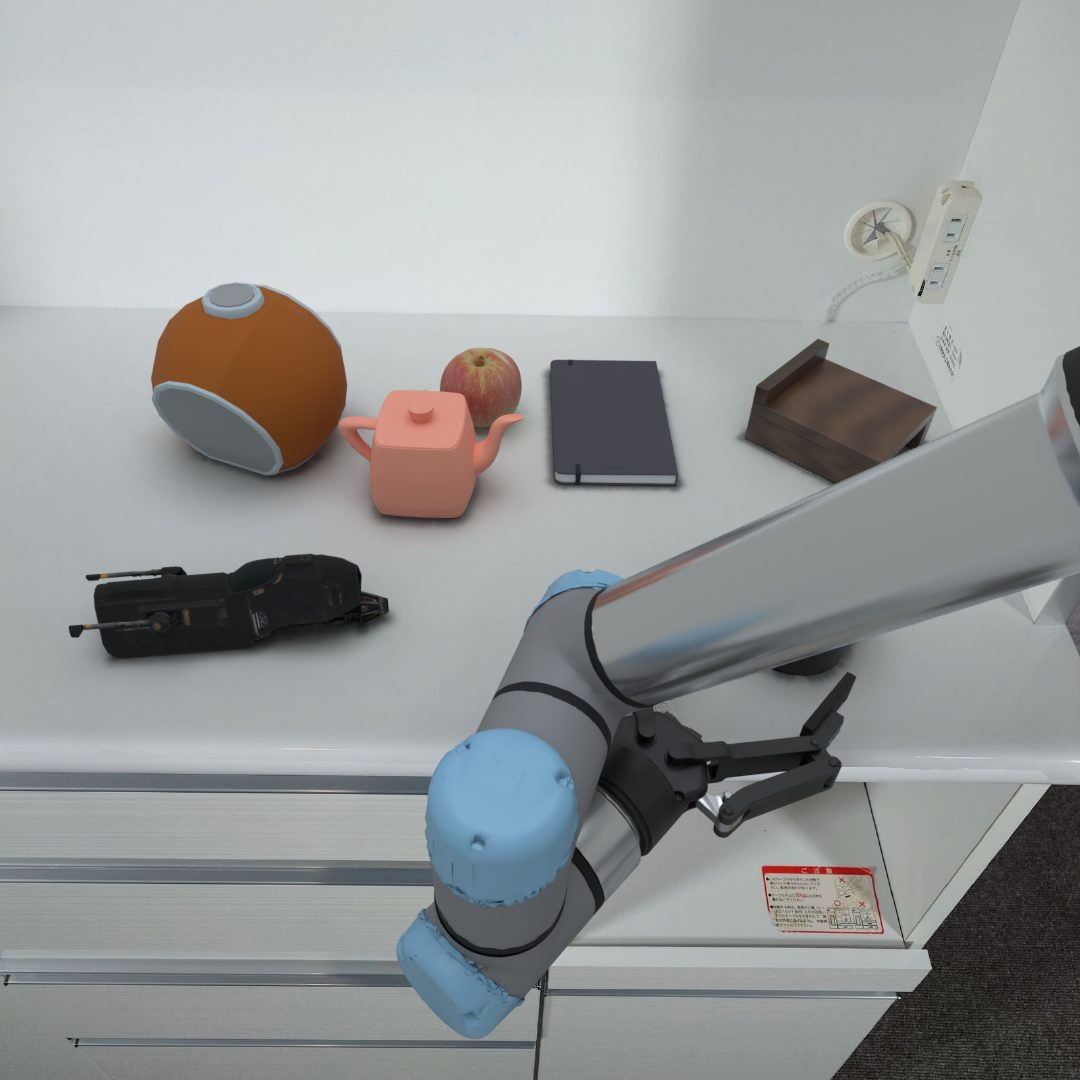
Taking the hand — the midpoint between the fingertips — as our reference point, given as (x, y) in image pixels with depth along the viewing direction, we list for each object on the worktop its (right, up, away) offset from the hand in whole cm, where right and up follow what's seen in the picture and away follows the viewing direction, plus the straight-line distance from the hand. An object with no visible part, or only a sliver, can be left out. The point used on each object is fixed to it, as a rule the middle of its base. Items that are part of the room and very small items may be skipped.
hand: (770, 637), depth 73 cm
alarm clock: (-48, +18, +27) cm, 58 cm away
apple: (-25, +21, +31) cm, 45 cm away
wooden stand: (+14, +19, +29) cm, 38 cm away
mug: (+5, -1, +9) cm, 10 cm away
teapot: (-29, +13, +22) cm, 38 cm away
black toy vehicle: (-44, 0, +8) cm, 45 cm away
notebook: (-10, +21, +31) cm, 38 cm away
